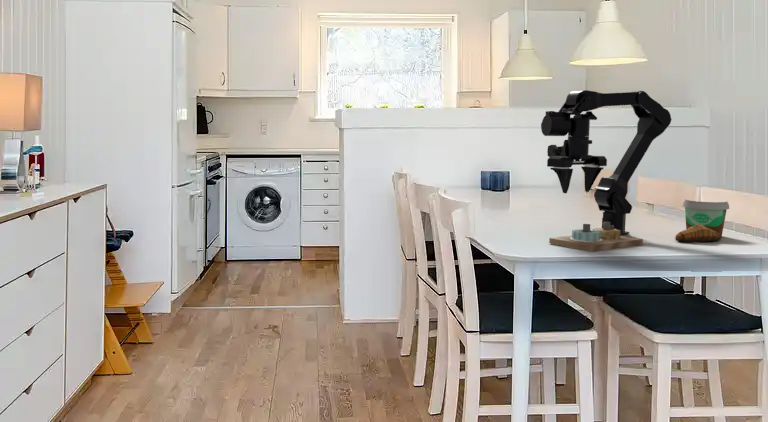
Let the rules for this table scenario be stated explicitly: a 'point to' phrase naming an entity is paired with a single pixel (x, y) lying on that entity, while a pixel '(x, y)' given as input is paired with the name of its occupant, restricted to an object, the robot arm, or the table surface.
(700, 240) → the croissant
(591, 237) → the teal gear
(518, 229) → the table surface
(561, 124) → the robot arm
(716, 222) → the food container
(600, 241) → the gear board
